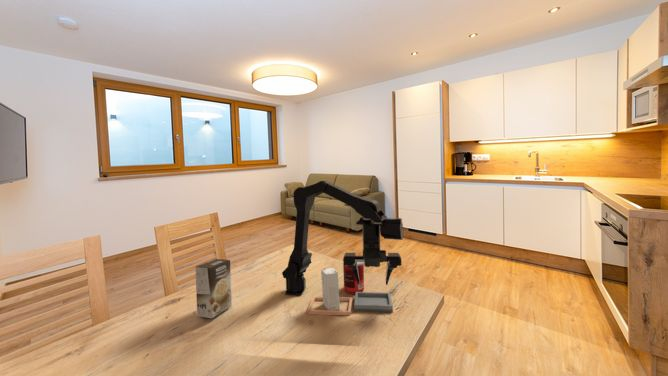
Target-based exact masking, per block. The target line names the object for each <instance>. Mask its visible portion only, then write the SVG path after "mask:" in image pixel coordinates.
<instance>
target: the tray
mask: <svg viewBox="0 0 668 376" xmlns="http://www.w3.org/2000/svg"><path fill="white" fill-rule="evenodd" d="M354 296H355V297H354V305H353V307H354V311H353V312H371V313H373V312H374V313H393V312H394V311H393V300H392V296H391V292H384V291H383V292H382V291H381V292H377V291H376V292H375V291H374V292H372V291H363V292H356V294H354Z"/></svg>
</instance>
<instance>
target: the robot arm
mask: <svg viewBox="0 0 668 376" xmlns="http://www.w3.org/2000/svg"><path fill="white" fill-rule="evenodd" d="M292 194H293V195H292V197H293V205H294V208H295V209H296V214H295V215H296V217H295V218H296V219H295V229H294V241H293V250H292V251H291V254H290V255H289V259H288V262H287V266H286V268H284V270H283V271H282V273H281V275H282V277H283V279H285V288H286V290H285V292H284V294H285V295H302V294H303V293H304V292H305V290H306V288H307V287H306V277H305V273H306V272H307V270H308V268H309V267H310V266H311V264H312V256H313V254H312V252H309V250H308V238H309V237H308V236H309V227H310V226H309V224H310V215H311V214H310V211H311V209H312V207H313V206H314V203H315V201H316V200H315V199H316V197H317V196H320V195H322V194H325V195H327V196H330V197H331V198H333V199H335V200H338V201H339V202H341V203H343V204H345V205H348V206H349V207H351V208H352V209H353V211H355V212H356V213H358V214H359V215H360V216H361V217H359V220H357V221H356V222H355V225H360V226H362V229H361V230H362V255H357V254H356V253H357V252H345V253H344V255H343V259H342V260H343V263H342V266H343V265H348V268H351V269H352V270H353V272H354V275H355V277H356V280H357V283H358V285H359V273H358V266H357V262H363V263H364V267H365V268H370V267H375V268H379V267H380V266H381V263H386V269H385V270H386V272H385V285H386V286H388V284H389V280H390V277H391V274H392V272H393V270H394V269H397V268H398V267H400V266H402V257H401V254H400V253H399V252H387V251H386V249H384V250H383V249H381V237H382V238H383V239H384V240H397V241H398V240H399V241H403V239H404V225H403V218H401V217H395V218H390V217H389V218H388V216H387V215H386V214H385V212H384V211H383V210H382V208H381V207H382V206H381V204H380V202H379V201H378V200H376V199H372V198H368V197H366V196H365V197H364V196H360V195H356V194H354V193H352V192H350V191H348V190H346V189H344V188H343V187H340V186H337V185H336V184H333V183H332V182H330V181H329V180H320V181H318V182H316V183H313V184H310V185H307V186H299V187H297V188H295V189H294V191H293V193H292Z"/></svg>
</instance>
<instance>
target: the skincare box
mask: <svg viewBox="0 0 668 376" xmlns="http://www.w3.org/2000/svg"><path fill="white" fill-rule="evenodd" d="M320 274H321V275H320V276H321V289H322V297H323V300H322V302H323V303H322V304H323V305H324V307H325V310H334V311H340V309H341V306H340V305H341V301H339V297H340V287H339V272H338V271H337V270H335V269H334V268H333V267H328V268H323V269H321V273H320Z"/></svg>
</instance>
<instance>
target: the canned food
mask: <svg viewBox="0 0 668 376" xmlns="http://www.w3.org/2000/svg"><path fill="white" fill-rule="evenodd" d="M342 266H343V268H342V269H343V271H342V272H343V288H344V291H345V293H348V294H352V295H355V294H356V292H364V290H365V269H364V268H365V265H364V262H357V266H358V273H359V285H358V283H357V280H356V277H355V275H354V272H353V270H352V269H351V268H348V265H343V264H342Z"/></svg>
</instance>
